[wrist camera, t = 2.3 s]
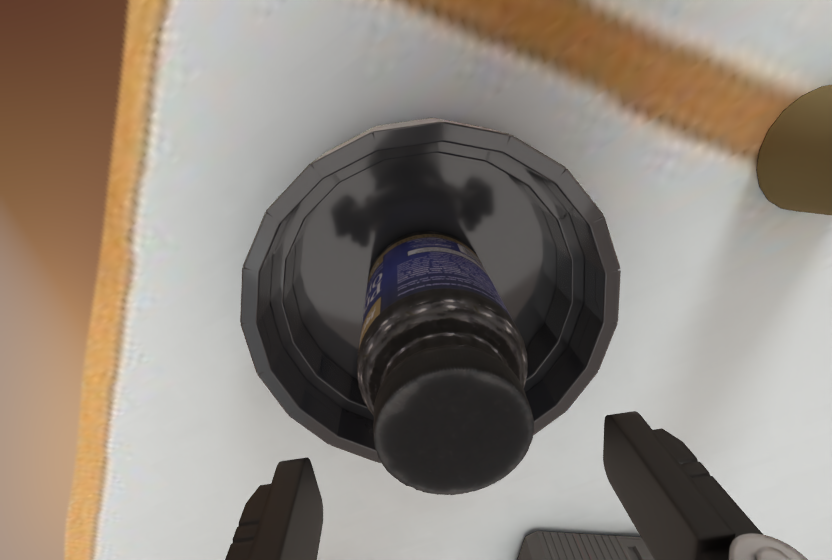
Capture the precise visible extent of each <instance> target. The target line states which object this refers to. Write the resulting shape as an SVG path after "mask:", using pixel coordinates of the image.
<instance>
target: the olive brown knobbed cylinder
mask: <svg viewBox="0 0 832 560" xmlns="http://www.w3.org/2000/svg"><path fill="white" fill-rule="evenodd" d="M757 174H758V180H759V186H760V188H761V190H762V191H763V193H764V194H765V196H766V198H767V199H768V200H769V201H770V202H772V203H773V204H775V205H777V206H778V207H780V208H782V209H787V210H793V211H799V212H808V213H817V214H825V215H832V85H828V86H822V87H820V88H818V89H816V90H814V91H811V92H809V93H807V94H805V95H803V96H801V97H800V98H799V99H798V100H796V101H795V102H794V103H793V104H792V105H790V106H789V107H788V108H787V109H785V110H784V111H783V112H782V114H781V115H780V116H779V117H778V119H777V120H776V121H775V123H774V124H773V125H772V127H771V128H770V129H769V131H768V133H767V135H766V137H765V140H764V142H763V144H762V146H761V149H760V152H759V158H758V165H757Z"/></svg>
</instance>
